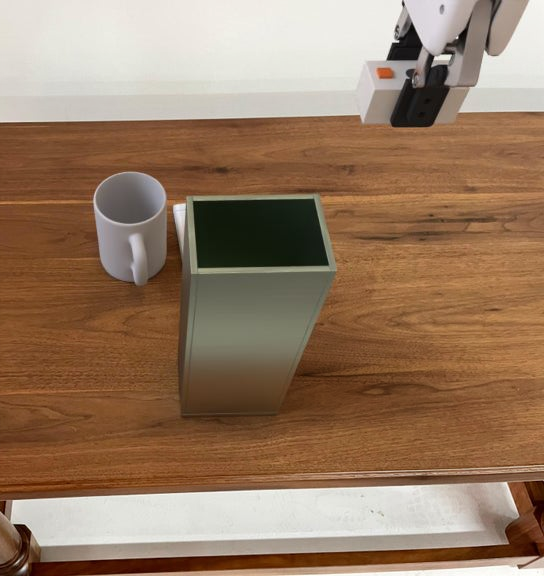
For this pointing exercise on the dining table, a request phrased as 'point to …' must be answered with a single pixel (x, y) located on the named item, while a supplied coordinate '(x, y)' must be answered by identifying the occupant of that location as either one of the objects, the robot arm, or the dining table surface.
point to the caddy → (248, 299)
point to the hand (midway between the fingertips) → (404, 104)
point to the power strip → (396, 91)
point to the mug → (131, 226)
